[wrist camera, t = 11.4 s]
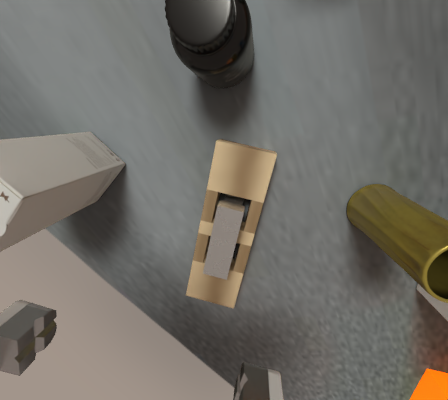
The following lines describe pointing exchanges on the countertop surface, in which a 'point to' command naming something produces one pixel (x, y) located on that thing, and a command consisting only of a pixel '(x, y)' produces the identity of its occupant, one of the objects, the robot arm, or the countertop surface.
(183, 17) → the supplement bottle
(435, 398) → the orange juice
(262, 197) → the flat wooden block
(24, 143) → the skincare box
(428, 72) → the countertop surface
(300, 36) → the countertop surface
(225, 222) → the grey concrete brick
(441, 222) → the vase
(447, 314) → the milk
